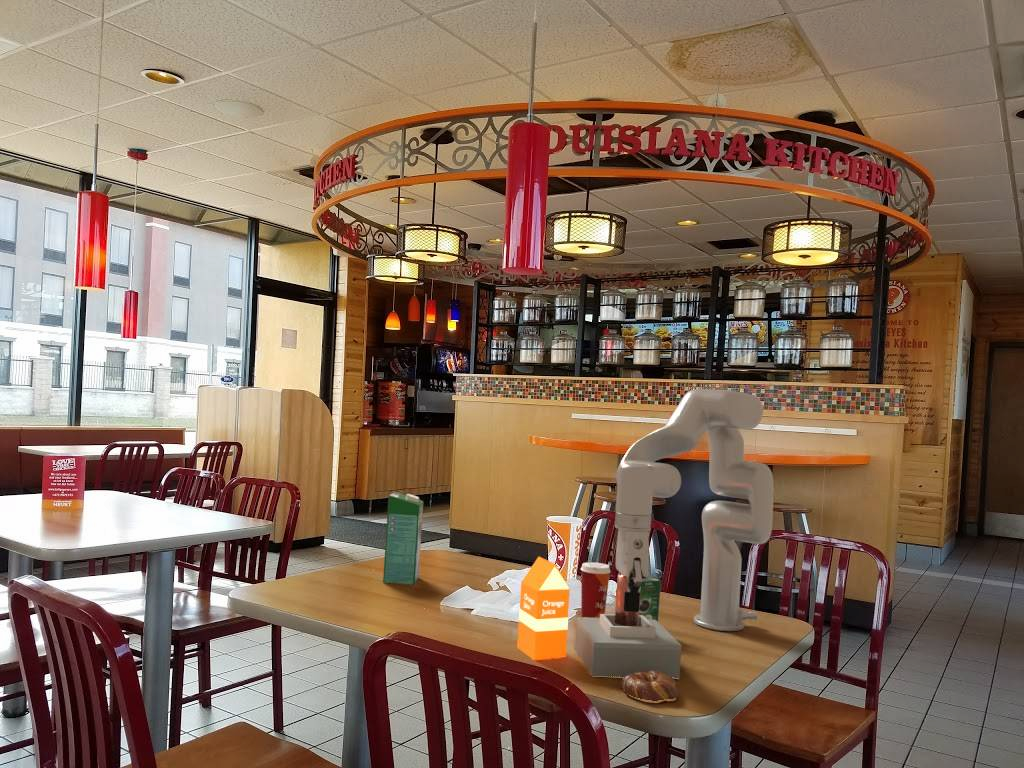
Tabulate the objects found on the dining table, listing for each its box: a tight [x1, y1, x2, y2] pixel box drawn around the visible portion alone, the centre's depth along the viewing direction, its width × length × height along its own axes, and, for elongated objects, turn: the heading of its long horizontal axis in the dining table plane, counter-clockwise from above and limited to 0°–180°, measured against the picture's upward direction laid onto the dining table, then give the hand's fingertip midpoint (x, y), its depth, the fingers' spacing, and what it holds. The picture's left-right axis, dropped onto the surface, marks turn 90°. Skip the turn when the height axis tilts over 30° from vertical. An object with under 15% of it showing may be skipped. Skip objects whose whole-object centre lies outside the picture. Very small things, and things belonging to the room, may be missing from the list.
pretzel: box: [620, 670, 679, 701], centre depth 151 cm, size 12×11×4 cm
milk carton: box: [382, 491, 424, 585], centre depth 230 cm, size 9×9×25 cm
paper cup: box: [580, 561, 612, 618], centre depth 200 cm, size 8×8×14 cm
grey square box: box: [574, 613, 682, 679], centre depth 168 cm, size 18×18×9 cm
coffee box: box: [639, 577, 662, 623], centre depth 191 cm, size 8×3×13 cm, turn 123°
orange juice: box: [516, 556, 571, 661], centre depth 172 cm, size 8×9×20 cm
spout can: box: [614, 572, 641, 626], centre depth 168 cm, size 5×5×11 cm
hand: (627, 606), depth 168 cm, fingers closed on spout can, 5 cm apart
